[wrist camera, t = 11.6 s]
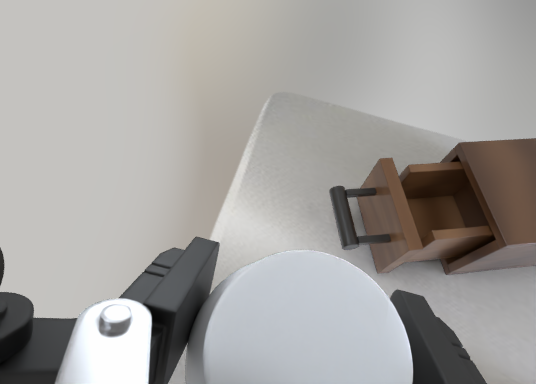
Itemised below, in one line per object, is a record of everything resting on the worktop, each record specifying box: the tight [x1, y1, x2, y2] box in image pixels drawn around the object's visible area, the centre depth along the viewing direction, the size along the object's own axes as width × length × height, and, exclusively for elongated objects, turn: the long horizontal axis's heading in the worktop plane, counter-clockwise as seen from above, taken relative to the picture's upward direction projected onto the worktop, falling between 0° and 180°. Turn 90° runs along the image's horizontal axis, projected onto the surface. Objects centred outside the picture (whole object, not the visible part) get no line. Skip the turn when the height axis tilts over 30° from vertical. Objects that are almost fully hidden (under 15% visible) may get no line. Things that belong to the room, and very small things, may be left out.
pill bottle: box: [185, 250, 413, 384], centre depth 11 cm, size 5×5×10 cm
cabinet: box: [440, 138, 536, 275], centre depth 32 cm, size 12×10×9 cm
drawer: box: [329, 158, 496, 273], centre depth 31 cm, size 15×8×7 cm, turn 97°
